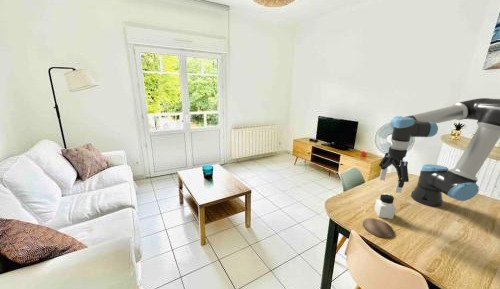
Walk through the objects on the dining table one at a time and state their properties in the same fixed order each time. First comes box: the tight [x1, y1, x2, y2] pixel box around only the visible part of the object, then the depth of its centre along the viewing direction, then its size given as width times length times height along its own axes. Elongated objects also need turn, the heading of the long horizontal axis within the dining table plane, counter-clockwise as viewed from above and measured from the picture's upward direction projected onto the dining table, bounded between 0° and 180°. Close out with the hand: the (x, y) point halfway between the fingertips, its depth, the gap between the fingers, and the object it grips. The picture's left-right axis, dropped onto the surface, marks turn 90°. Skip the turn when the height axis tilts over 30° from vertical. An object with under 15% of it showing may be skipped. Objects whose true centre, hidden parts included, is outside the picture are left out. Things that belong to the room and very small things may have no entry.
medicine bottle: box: [374, 193, 397, 220], centre depth 114 cm, size 7×7×12 cm
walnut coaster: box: [362, 217, 394, 239], centre depth 104 cm, size 13×13×1 cm
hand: (389, 185), depth 110 cm, fingers open, 13 cm apart
